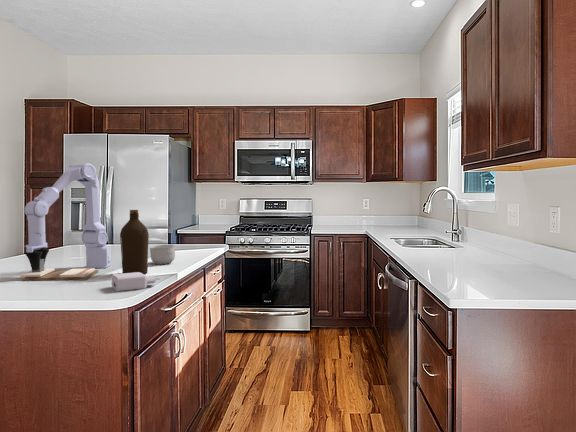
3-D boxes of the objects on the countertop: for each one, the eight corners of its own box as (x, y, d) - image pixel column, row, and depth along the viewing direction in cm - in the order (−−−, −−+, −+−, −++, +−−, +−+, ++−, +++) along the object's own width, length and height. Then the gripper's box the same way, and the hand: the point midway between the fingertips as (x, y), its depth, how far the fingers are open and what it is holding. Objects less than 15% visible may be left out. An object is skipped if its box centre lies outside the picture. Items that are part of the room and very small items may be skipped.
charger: (163, 287, 167) (117, 292, 159) (155, 283, 175) (111, 287, 167) (163, 273, 167) (117, 277, 159) (155, 269, 175) (111, 273, 167)
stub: (54, 270, 193) (54, 256, 193) (40, 276, 179) (40, 262, 179) (36, 270, 192) (35, 257, 192) (20, 276, 178) (19, 262, 178)
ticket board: (98, 272, 196) (98, 269, 196) (85, 279, 180) (85, 277, 180) (40, 273, 194) (40, 270, 194) (22, 280, 178) (22, 278, 178)
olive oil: (151, 271, 199) (151, 209, 197) (145, 275, 188) (144, 210, 187) (125, 271, 198) (124, 209, 197) (117, 276, 188) (115, 210, 186)
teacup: (171, 265, 214) (171, 247, 213) (146, 265, 214) (146, 247, 214) (179, 260, 228) (179, 243, 227) (155, 260, 228) (155, 243, 227)
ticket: (94, 270, 195) (94, 268, 195) (83, 276, 181) (83, 274, 181) (71, 270, 194) (71, 268, 194) (58, 277, 180) (58, 274, 180)
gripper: (33, 231, 192) (34, 266, 193) (17, 235, 177) (18, 272, 178) (52, 231, 192) (53, 266, 193) (37, 234, 178) (38, 272, 179)
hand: (37, 269), depth 186 cm, fingers closed on stub, 4 cm apart
